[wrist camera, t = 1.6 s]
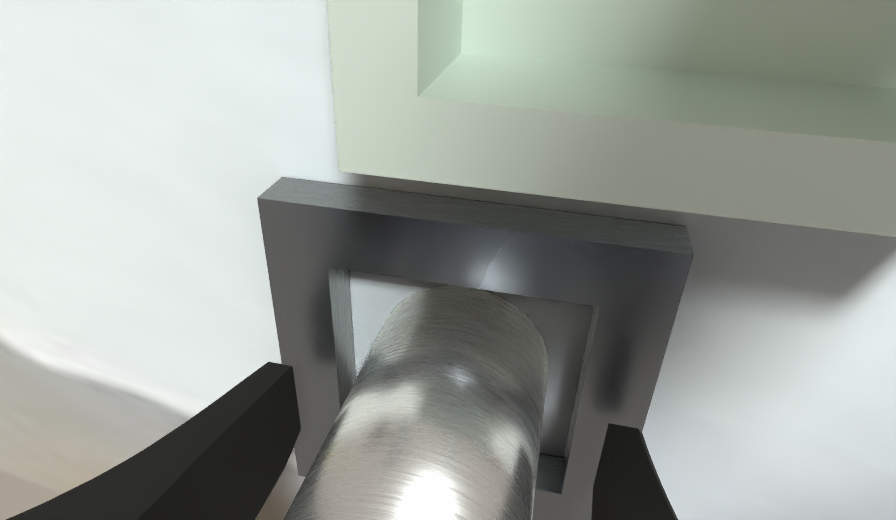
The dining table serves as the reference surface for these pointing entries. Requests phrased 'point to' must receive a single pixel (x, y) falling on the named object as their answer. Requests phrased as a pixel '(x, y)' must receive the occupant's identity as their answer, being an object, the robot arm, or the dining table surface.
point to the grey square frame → (480, 267)
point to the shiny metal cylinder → (437, 417)
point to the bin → (629, 102)
